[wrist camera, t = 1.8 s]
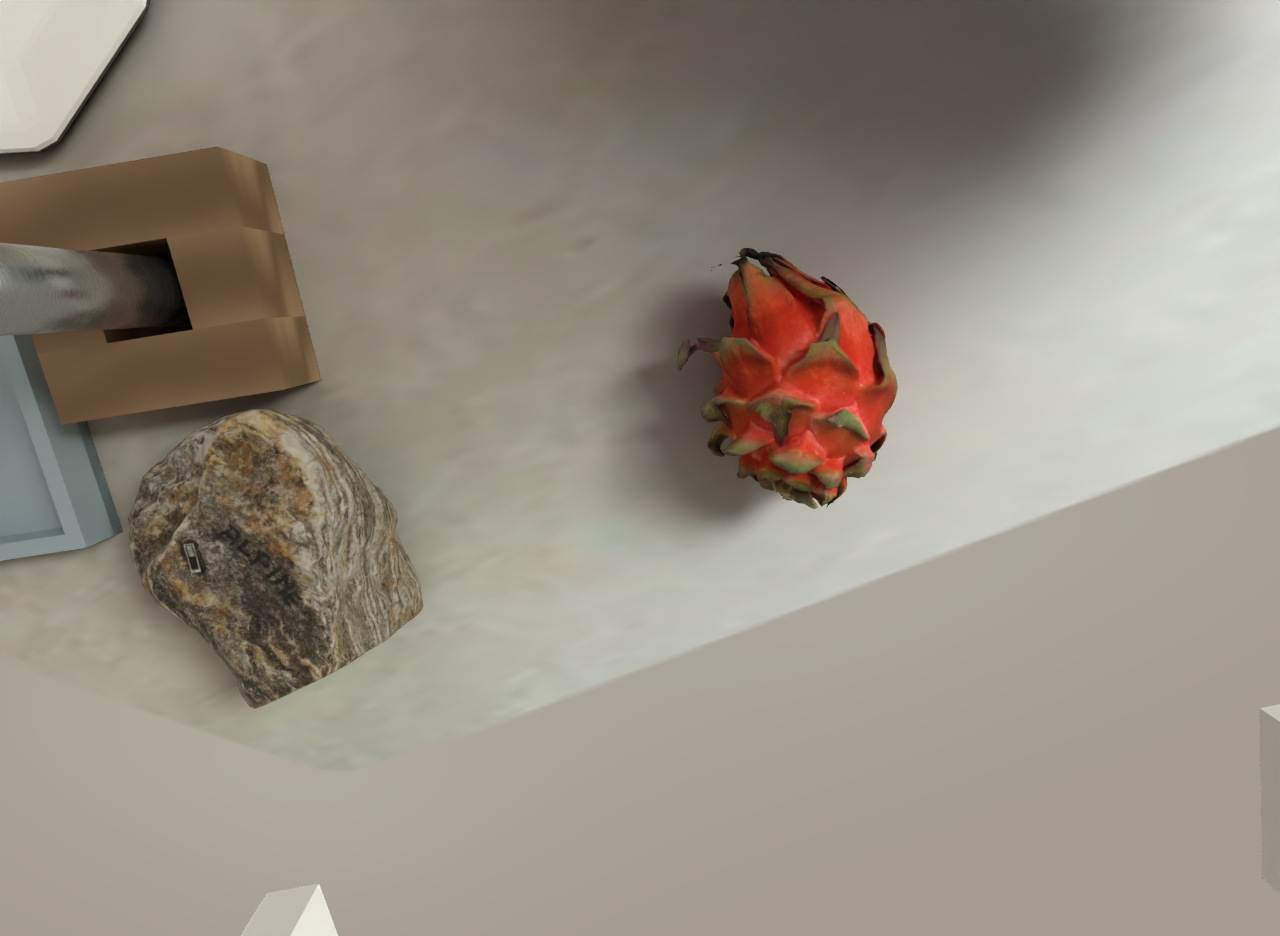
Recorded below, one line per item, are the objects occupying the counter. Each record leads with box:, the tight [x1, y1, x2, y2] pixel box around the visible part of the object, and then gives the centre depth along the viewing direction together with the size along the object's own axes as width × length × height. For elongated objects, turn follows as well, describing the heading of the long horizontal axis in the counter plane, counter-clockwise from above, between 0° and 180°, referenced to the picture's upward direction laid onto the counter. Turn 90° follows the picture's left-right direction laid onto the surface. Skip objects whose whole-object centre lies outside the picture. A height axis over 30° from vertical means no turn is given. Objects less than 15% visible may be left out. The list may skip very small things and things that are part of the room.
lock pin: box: [0, 243, 192, 336], centre depth 27 cm, size 4×4×15 cm
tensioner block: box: [0, 147, 321, 425], centre depth 33 cm, size 10×10×4 cm
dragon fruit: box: [678, 248, 897, 509], centre depth 32 cm, size 8×8×12 cm
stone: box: [128, 409, 423, 709], centre depth 35 cm, size 14×10×10 cm
